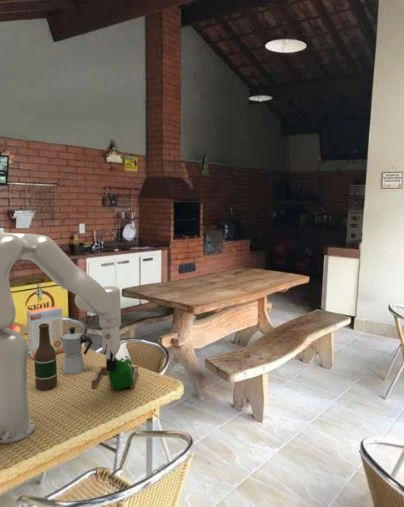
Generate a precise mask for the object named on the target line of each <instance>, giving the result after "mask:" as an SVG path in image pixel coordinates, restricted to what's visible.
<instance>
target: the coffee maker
mask: <svg viewBox="0 0 404 507" xmlns="http://www.w3.org/2000/svg"><path fill="white" fill-rule="evenodd" d="M58 337H59V338H60V340H61V341H62V343H63V349H64V352H63V353H64V358H63V364H62V365H63V366H62V372H63V373H64V374H65V375H66V374H67V375H76V374H80V373H82V372H83V371H85V364H84V360H83V358H84V357H83V354H84V355H87V353H88V352H89V350H90V348H91V346H92V345H93V343H94V342H93V340H92V338H91V337H90V336H87V335H86V334H83V333H80V332H76V327H74V326H71V327H69V332H68V333H65V334H63V335H62V336H58ZM85 343H88V344H87V346H86V348H85V350H84V352H83V354H82V351H83V350H82V349H83V344H85Z"/></svg>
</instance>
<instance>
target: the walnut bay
mask: <svg viewBox="0 0 404 507" xmlns="http://www.w3.org/2000/svg"><path fill="white" fill-rule="evenodd" d="M132 371H133V385H131V386H129V388H130V389H135V385H136V381H137V378H138V375H139V367H138V366H136V365H135V366H132ZM102 376H108V373H107V370H106V366H98V368H97V370H96V372H95V374H94V376H93V378H92V380H91V389H96V388H97V387H98V384H99V382H100V380H101V377H102Z"/></svg>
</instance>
